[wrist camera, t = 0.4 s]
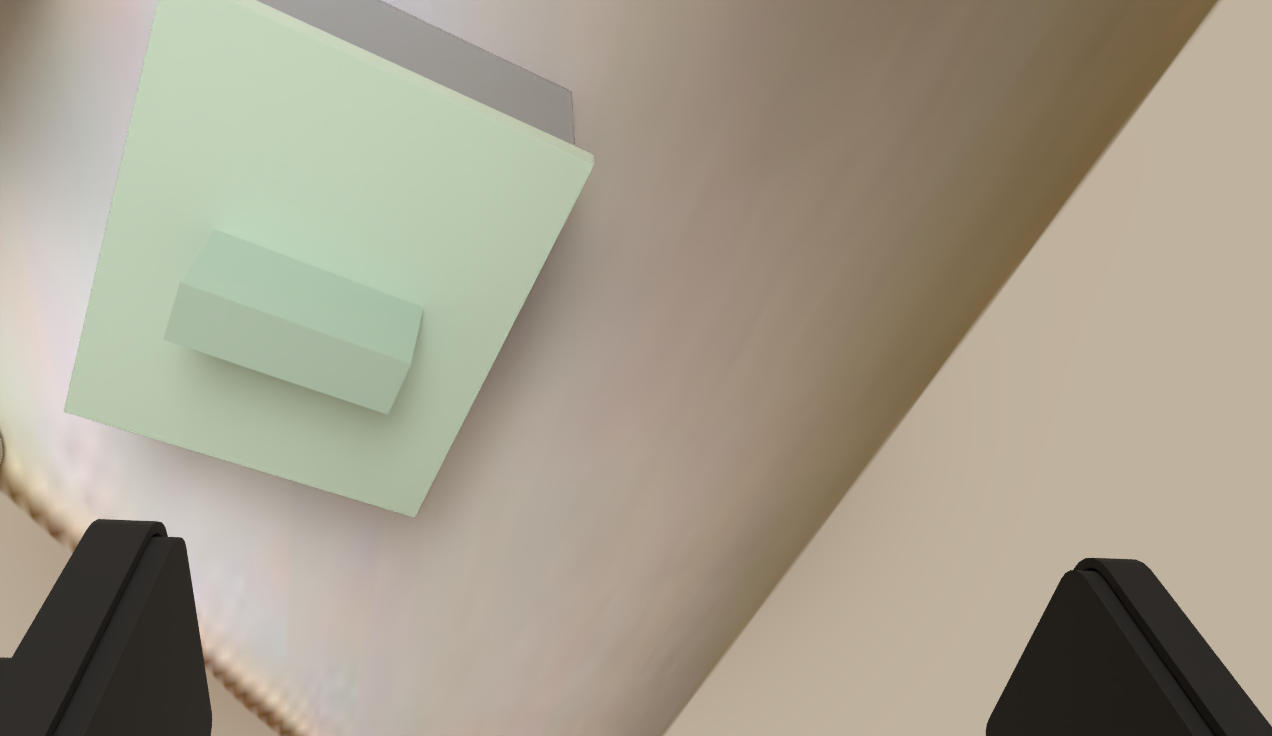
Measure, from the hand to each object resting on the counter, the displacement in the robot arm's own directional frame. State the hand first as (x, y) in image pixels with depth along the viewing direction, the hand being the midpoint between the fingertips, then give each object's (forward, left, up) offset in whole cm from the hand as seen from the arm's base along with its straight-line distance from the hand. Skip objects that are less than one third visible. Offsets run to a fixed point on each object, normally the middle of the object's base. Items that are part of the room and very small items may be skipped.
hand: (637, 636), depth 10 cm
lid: (+14, -5, -28) cm, 32 cm away
